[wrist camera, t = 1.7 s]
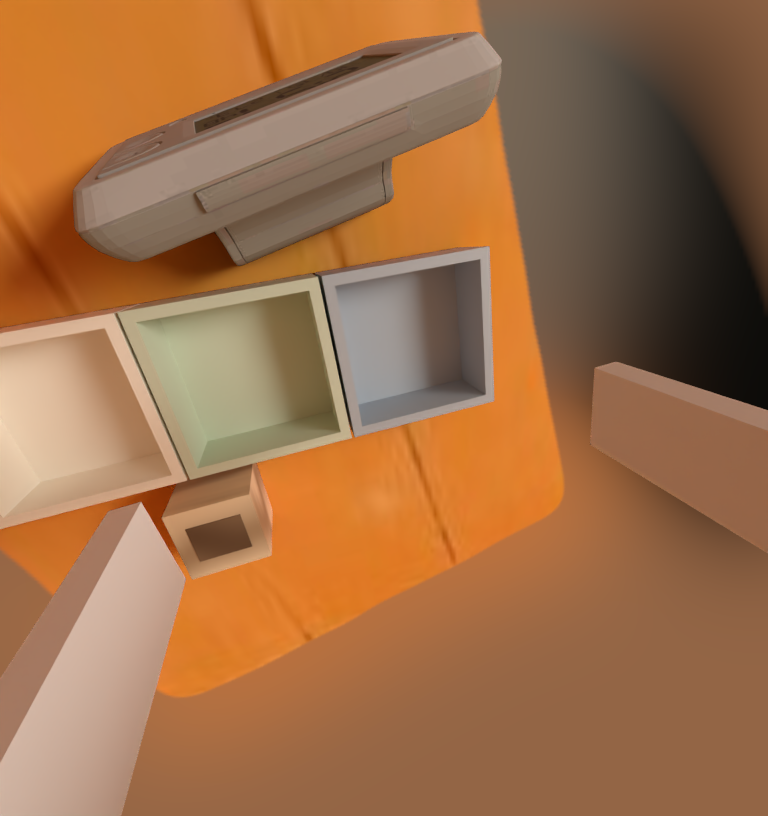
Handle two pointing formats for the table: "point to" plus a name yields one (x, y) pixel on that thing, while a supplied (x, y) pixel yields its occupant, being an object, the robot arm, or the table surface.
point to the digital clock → (285, 152)
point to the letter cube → (220, 520)
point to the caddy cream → (77, 419)
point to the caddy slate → (411, 336)
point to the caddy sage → (241, 372)
